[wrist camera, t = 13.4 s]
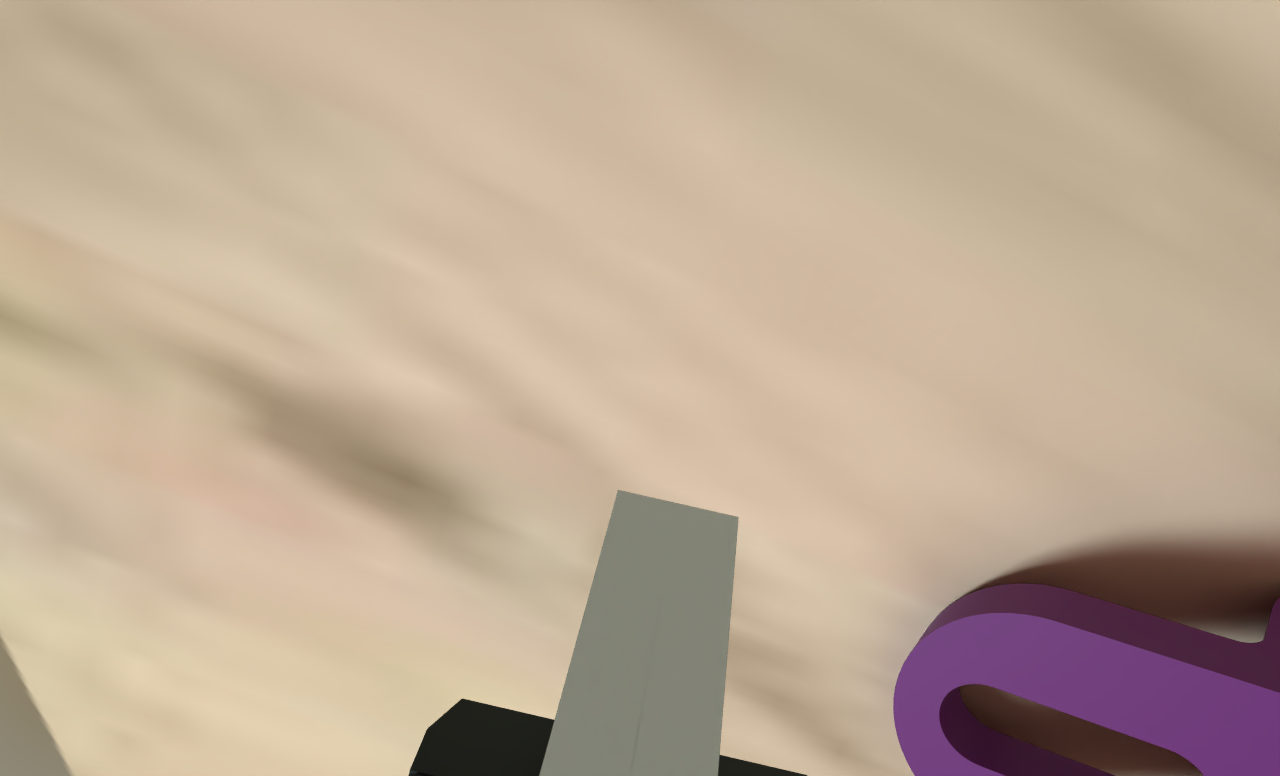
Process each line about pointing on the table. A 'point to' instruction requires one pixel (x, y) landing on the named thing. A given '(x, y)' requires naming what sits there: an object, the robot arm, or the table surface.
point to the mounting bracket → (1086, 684)
